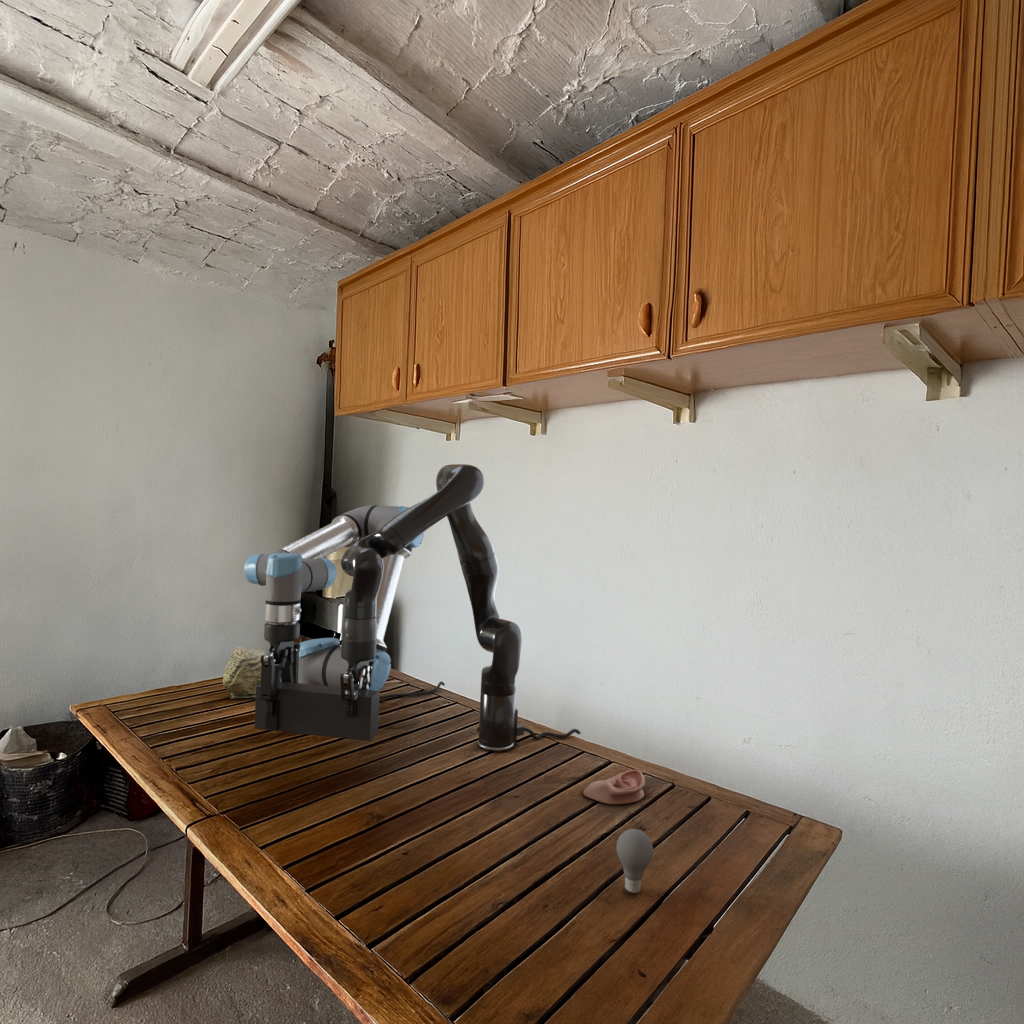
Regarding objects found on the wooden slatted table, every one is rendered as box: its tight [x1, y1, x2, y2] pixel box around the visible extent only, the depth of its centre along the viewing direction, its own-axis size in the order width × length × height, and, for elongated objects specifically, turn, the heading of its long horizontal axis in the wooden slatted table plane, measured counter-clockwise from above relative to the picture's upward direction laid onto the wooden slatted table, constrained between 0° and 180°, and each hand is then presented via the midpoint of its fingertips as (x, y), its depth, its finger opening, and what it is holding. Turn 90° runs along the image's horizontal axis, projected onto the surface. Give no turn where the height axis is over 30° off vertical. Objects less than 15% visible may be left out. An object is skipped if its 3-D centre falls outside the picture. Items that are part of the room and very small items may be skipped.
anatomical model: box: [582, 769, 646, 805], centre depth 141 cm, size 13×4×12 cm
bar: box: [253, 681, 381, 742], centre depth 142 cm, size 27×5×10 cm, turn 81°
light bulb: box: [615, 828, 654, 894], centre depth 106 cm, size 6×6×10 cm
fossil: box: [222, 646, 281, 699], centre depth 198 cm, size 9×18×15 cm, turn 132°
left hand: (278, 724), depth 143 cm, fingers closed on bar, 5 cm apart
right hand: (356, 712), depth 140 cm, fingers closed on bar, 5 cm apart
